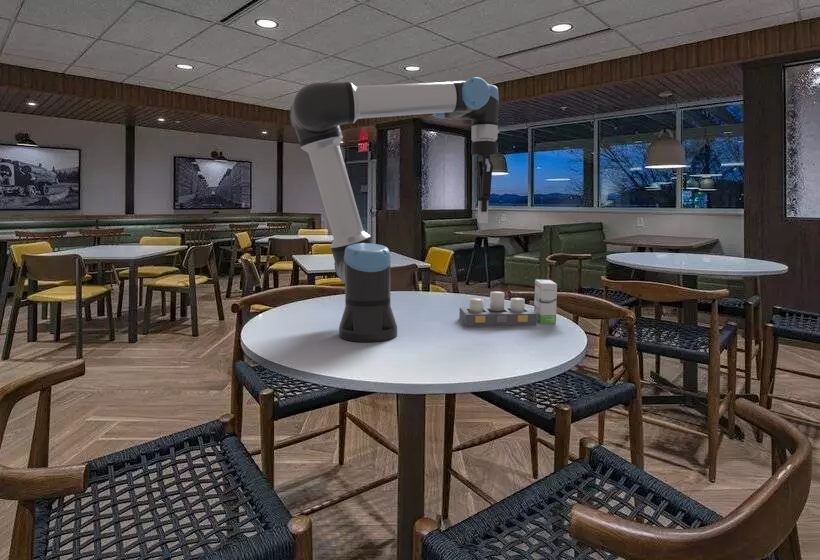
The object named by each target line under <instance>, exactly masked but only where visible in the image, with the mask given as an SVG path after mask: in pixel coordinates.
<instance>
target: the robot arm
mask: <svg viewBox="0 0 820 560" xmlns="http://www.w3.org/2000/svg"><path fill="white" fill-rule="evenodd" d="M499 98H500V97H499V88H498V87H497V86H496V85H494V84H489V83H488V82H487V80H485V79H483V78H481V77H478V76H475V77H469V78H467V79H465V80H458V81H457V80H455V81H439V82H437V81H435V82H416V83H414V82H413V83H412V82H411V83H397V84H394V83H393V84H392V83H391V84H378V85H377V84H375V85H373V84H372V85H354V84H353V83H352V82H351V81H343V82H341V81H339V82H338V81H337V82H335V81H334V82H333V81H332V82H331V81H330V82H329V81H328V82H327V81H326V82H325V81H324V82H312V83H308V84H306V85H304V86H302V87H301V88H300V89H299V90H298V91H297V93H296V95H295V96H294V98H293V102H292V104H291V106H290V110H289V119H290V123H291V126H292V128H293V129H294V132H295V133H296V137H297V138H298V142H299V145H300V146H299V147H300V149H302V150H303V151H304V152H306V153H307V154H308V156H309V160H310V163H311V166H312V167H311V168H312V170H313V173H314V177H315V180H316V183H317V187H318V190H319V194H320V198H321V200H322V203H323V207H324V210H325V214H326V217H327V220H328V224H329V227H330V230H331V235H332V237H333V241H332V243H330V250H331V254H332V257H333V259H334V271H335V273H336V275H337V277H338V278H339V280H341V282H342V283H344V296H345V297H344V298H345V299H344V302H345V306H344V309H343V314H342V316H341V320H340V323H339V327H338V337H339V338H340V339H342V340H346V341H351V342H360V343H372V342H373V343H375V342H383V341H388V340H391V339H392V340H393V339H394V338H396V337H397V336H398V325H397V322H396V321H397V320H396V318H395V316H394V312H393V309H392V307H391V263H392V258H391V251H390V249H389V248H388V247H387V246H385V245H382V244H377V243H373V239H372V236H371V234H369V233H368V232H366V231H365V230H364V227H363V224H362V223H363V222H362V221H361V216H360V213H359V209H358V207H357V203H356V199H355V195H354V192H353V188H352V185H351V182H350V179H349V174H348V170H347V167H346V163H345V160H344V156H343V154H342V150H341V142H342V141H343V138H344V137H343V132H342V128H341V126H342V125H348V124H355V123H356V121H357V120H359V119H375V118H388V117H400V116H401V117H402V116H413V115H414V116H415V115H416V116H417V115H418V116H419V115H429V114H430V115H431V114H432V115H433V117H434V118H435V119H444V120H447V119H448V120H450V119H451V120H467V121H468V120H469V121H471V141H473V142H471V147H470V148H471V151H470V152H471V155H472V156H474V157H477V162H476V163H475V178H476V179H475V180H476V182H475V183H476V184H475V185H476V199H477V223H478V224H489V201H490V199H491V190H492V178H493V169H494V164H493V162H492V161H491V157H492V156H493V157H494V156H497V154H498V142H497V140H498V134H499V133H500V131H501V130H500V129H498V128H499V127H498V126H499V107H500V106H499V104H500V99H499Z"/></svg>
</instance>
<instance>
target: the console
mask: <svg viewBox="0 0 820 560" xmlns="http://www.w3.org/2000/svg"><path fill="white" fill-rule="evenodd" d="M469 308H470V306H459V315H458V316H459V320H460V322H461V323H462V325H463V326H464V327H466V328H476V327H478V328H483V327H484V328H485V327H489V328H490V327H491V328H492V327H493V328H496V326H497V327H499V326H500V327H537V320H536V319H537V314H536V313H535V312H534V310H532V309H530V308H529V307H527V306H526V305H525V306H524V312H511V311H510V306H509V305H508V306H504V310H503V311H492V310H490V306H483V312H469Z"/></svg>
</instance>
